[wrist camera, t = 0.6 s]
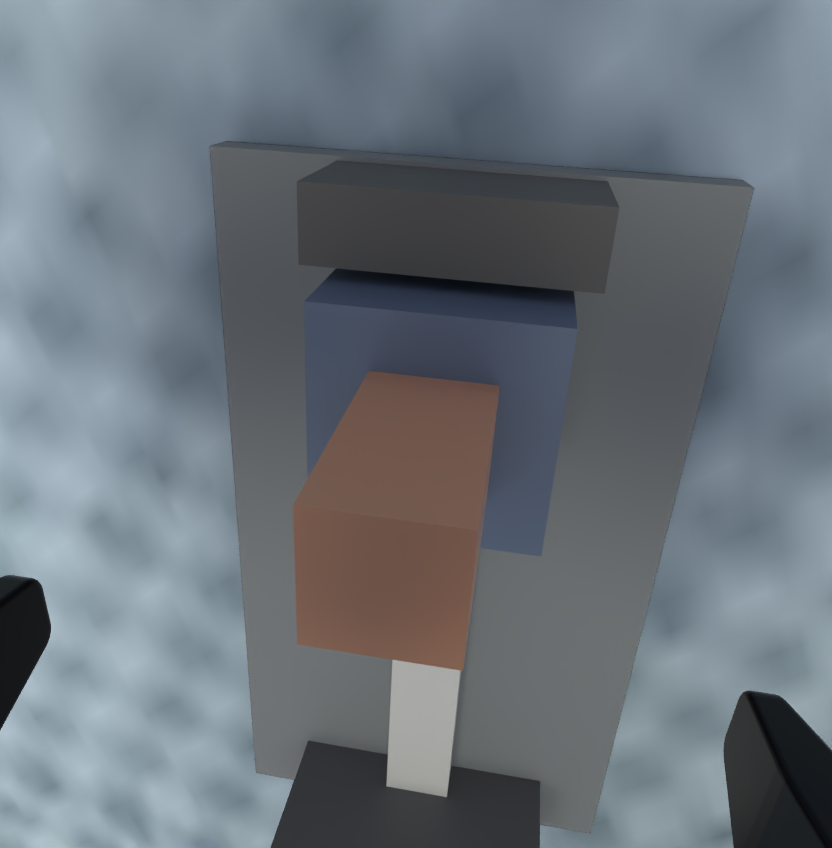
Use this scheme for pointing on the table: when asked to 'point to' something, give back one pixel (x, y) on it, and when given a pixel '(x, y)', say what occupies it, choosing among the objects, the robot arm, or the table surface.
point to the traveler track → (497, 570)
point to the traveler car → (422, 453)
